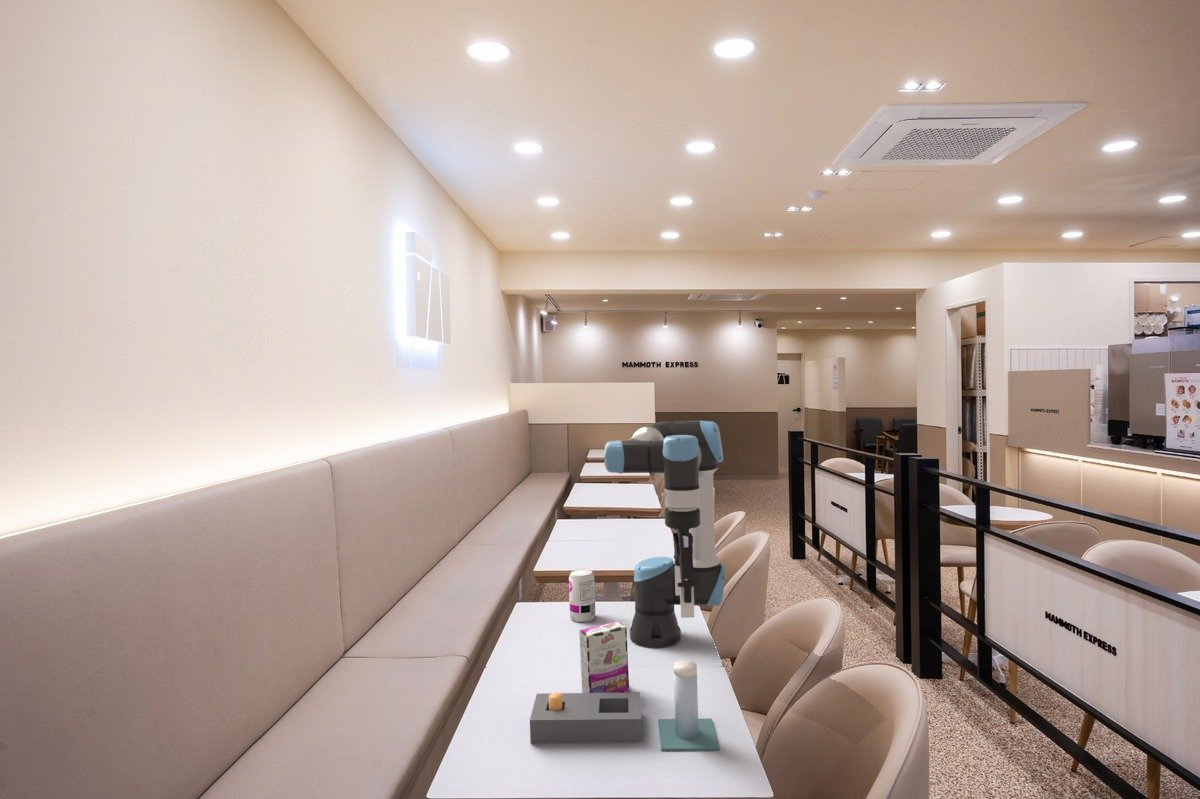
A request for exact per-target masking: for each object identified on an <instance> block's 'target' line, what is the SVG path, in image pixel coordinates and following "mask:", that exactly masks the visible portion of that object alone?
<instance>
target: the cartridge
mask: <svg viewBox="0 0 1200 799" xmlns="http://www.w3.org/2000/svg"><path fill="white" fill-rule="evenodd" d="M697 666H698V665H697V663H696V662H694V661H691V660H688V659H683V660H682V659H681V660H677V661H675V662H674V663H673V667H672V668H673V692H674V694H673V696H674V697H673V699H674V719H675V733H676V735H677V736H678V737H680V738H683V739H693V738H695V737H697V736H698V733H699V732H698V719H699V708H698V707H699V704H698V703H699V701H698V700H699V698H698V697H699V696H698V667H697Z"/></svg>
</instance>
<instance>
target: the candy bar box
mask: <svg viewBox="0 0 1200 799" xmlns="http://www.w3.org/2000/svg"><path fill="white" fill-rule="evenodd" d="M578 633H579V650H580V651H579V652H580V653H579V654H580V656H579V658H580V673H581V674H580V675H581V679H580V680H581V693H623V692H629V691H630V678H629V677H630V675H629V654H628V633H627V626H626V625H625V624H623V623H622V622H620V621H618V620H617V621H612V622H608V623H605V624H600V625H595V626H591V627H587V628H584V629H579V631H578Z"/></svg>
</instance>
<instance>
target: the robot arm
mask: <svg viewBox="0 0 1200 799" xmlns="http://www.w3.org/2000/svg"><path fill="white" fill-rule="evenodd" d="M603 458H604V467H605V469H606V471H607V472H608V473H612V474H663V480H664V482H663V483H664V485H663V487H664V492H661V497H662V498H664V506H665V507H666V508H665V509H664V524H665V526H666V527H668V528H669V529H674V532H673V533H672V538H673V539H672V540H673V550H674V551H673V552H674V553H673V554H674V555H673V558H671V557H670V556H669V557H666V556H655V557H651V558H646V559H644V560H643V559H642V560H641V561H639V562H638V563H637V564H635V567H634V576H633V582H634V615H633V619H632V622H631V627H630V629H629V639H630V641H631V642H632V643H634V644H635V645H638V646H641V647H645V648H654V649H655V648H666V647H671V646H673V645H676V644H678V643H679V642H680V641H681V639H682V630H681V627H680V626H679V623H678V619H677V616H676V611H675V606H676V605H678V606H680V618H683V619H684V618H685V619H686V618H695V607H696V606H697V607H704V608H705V607H718V606H720V605H721V604H722V602H723V597H724V590H725V579H726V570H727V569H726V567H727V566H726V565H723V564H722V563H721V561H722V560H721V558H720V557H719V556H718V555H717V554H716V540H715V539H716V538H715V536H716V532H715V497H714V496H715V495H714V494H715V493H714V492H715V491H714V474H715V472H716V471H717V470H718V469H719V463H722V462H724V452H723V445H722V437H721V433H720V427H719V425H718V424H717V423H716V422H715V421H713V420H711V421H710V420H680V421H679V420H678V421H667V420H666V421H660V422H655V423H651V424H649V425H646V426H643V427H641V428H638V429H637V430H636V431H635V432H634V433H633V435H632V437H630V438H629V439H627V440H620V439H617V440H610V441H609V440H608V442H606V444H605V447H604V454H603ZM673 559H674V560H673Z"/></svg>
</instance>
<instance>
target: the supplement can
mask: <svg viewBox="0 0 1200 799" xmlns="http://www.w3.org/2000/svg"><path fill="white" fill-rule="evenodd" d="M568 590H569V591H568V594H569V596H568V598H569V617H570V619H572V621H573V622H575V623H587V622H591V621H592V620H594V618H595V617H596V586H595V575H594V574H593V571H592V570H590V569H586V568H585V569H581V568H580V569H575V570H572V571H570V574H569V576H568Z"/></svg>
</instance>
